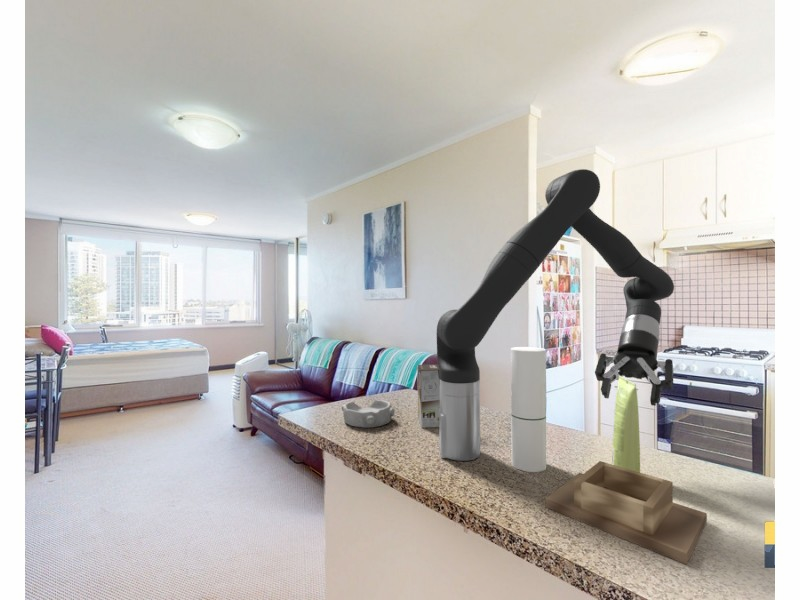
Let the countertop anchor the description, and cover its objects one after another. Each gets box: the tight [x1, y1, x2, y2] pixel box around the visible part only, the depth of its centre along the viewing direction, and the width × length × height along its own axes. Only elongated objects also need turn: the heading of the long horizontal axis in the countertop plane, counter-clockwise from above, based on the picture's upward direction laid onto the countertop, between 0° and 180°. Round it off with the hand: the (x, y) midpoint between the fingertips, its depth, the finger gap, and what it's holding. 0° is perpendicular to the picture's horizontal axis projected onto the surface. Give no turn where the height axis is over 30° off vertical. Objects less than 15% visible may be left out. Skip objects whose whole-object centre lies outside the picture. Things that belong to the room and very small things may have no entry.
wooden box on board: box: [545, 460, 708, 565], centre depth 65 cm, size 20×14×6 cm
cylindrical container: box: [510, 346, 547, 473], centre depth 84 cm, size 7×7×25 cm
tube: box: [611, 375, 641, 473], centre depth 79 cm, size 6×5×20 cm
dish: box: [341, 399, 395, 428], centre depth 115 cm, size 14×14×5 cm
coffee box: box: [416, 363, 440, 429], centre depth 113 cm, size 9×6×16 cm
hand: (628, 399), depth 81 cm, fingers open, 8 cm apart
